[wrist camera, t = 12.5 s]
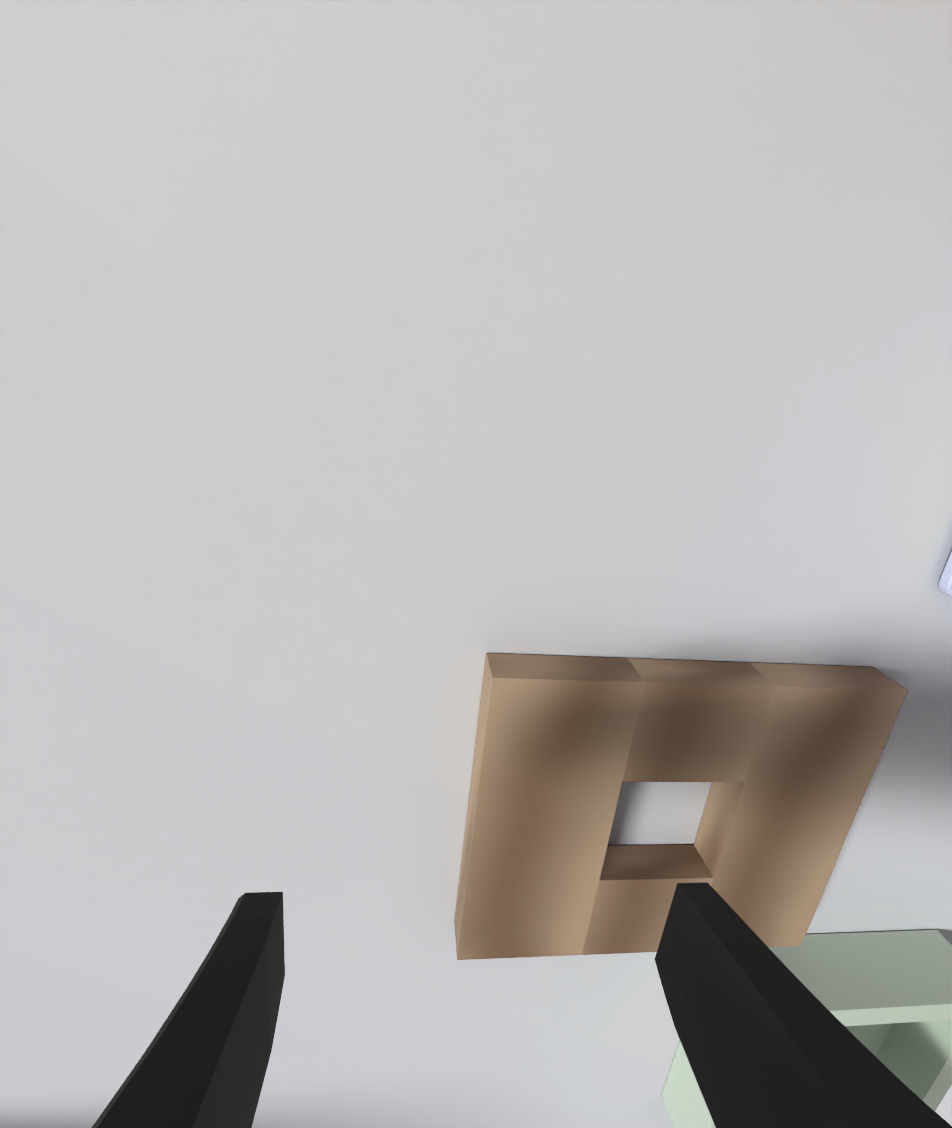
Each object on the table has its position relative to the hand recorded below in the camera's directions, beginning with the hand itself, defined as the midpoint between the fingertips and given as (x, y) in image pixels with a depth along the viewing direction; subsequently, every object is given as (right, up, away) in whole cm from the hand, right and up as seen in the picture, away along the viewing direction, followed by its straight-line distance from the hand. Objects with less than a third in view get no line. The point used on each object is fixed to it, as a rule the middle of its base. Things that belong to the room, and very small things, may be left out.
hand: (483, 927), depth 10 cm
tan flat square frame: (+6, -2, +11) cm, 13 cm away
